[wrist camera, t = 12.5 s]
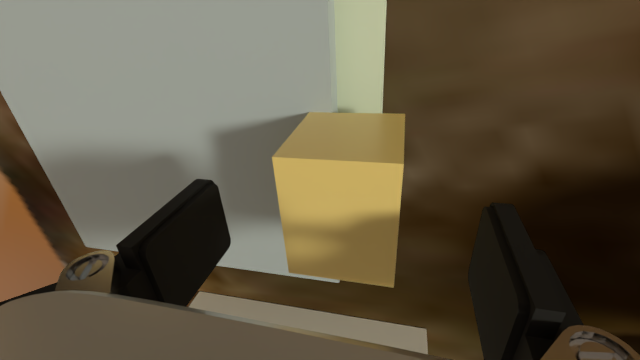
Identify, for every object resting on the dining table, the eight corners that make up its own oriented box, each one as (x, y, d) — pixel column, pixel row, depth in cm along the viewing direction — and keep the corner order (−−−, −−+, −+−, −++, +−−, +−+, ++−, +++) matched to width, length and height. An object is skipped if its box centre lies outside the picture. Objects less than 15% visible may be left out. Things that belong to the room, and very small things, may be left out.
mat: (389, -61, 12) (388, -63, 12) (376, 262, 21) (375, 269, 20) (-6, -19, 17) (-19, -19, 17) (112, 229, 26) (106, 234, 25)
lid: (415, -38, 12) (421, -65, 6) (393, 262, 20) (386, 370, 14) (0, -1, 17) (-202, 1, 11) (110, 227, 25) (21, 297, 19)
